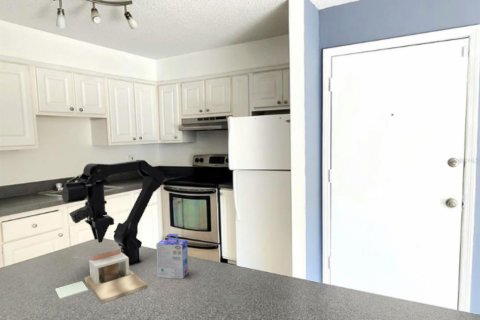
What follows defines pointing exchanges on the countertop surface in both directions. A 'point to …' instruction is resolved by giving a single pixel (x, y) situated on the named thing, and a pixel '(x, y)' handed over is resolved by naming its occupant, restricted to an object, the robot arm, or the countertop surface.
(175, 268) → the ink cartridge box
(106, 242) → the countertop surface
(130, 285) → the puzzle board
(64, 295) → the coaster pad
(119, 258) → the panel
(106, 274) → the walnut block
